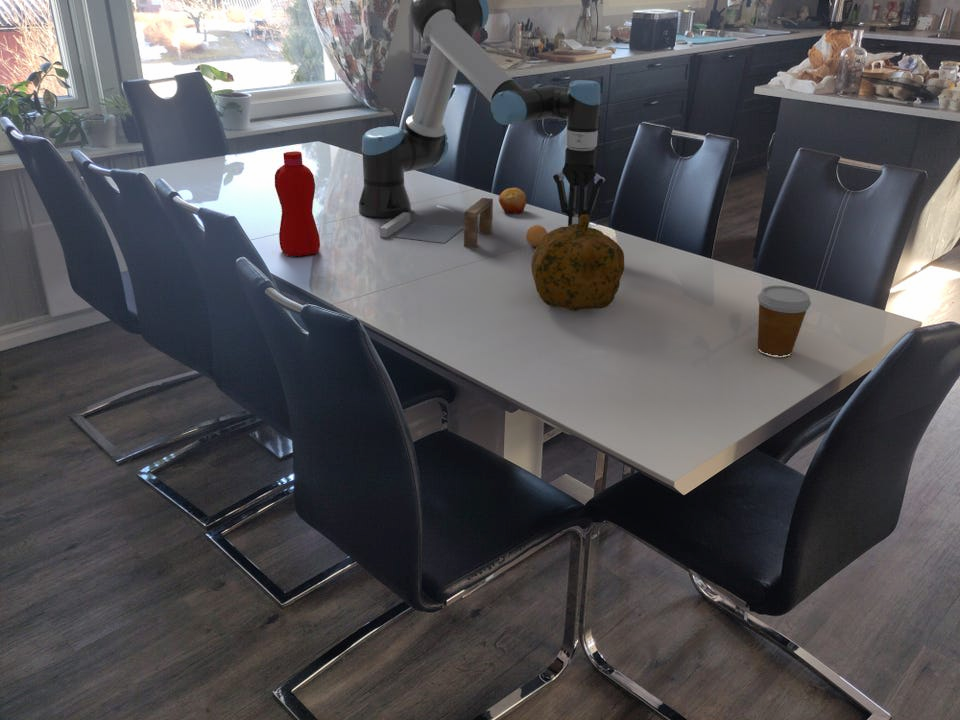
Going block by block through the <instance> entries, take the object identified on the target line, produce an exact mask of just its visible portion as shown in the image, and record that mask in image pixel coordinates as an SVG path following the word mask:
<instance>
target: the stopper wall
mask: <svg viewBox="0 0 960 720" xmlns="http://www.w3.org/2000/svg"><path fill="white" fill-rule="evenodd" d="M410 222H411V212H410V213H406V212H403V213H402V214H400V215H399V216H397V217H393V219H391V220H390V221H388V222H387V223H385V224H383V225H382V226H380V227H379V237H380V236H381V237H380V238H385V237H387V238H388V236H389V237H390V236H392V235H393V234H394V232H395V231H396V232H397V231H399V230H400V229H402V228H403V227H405V226H406V225H407V224H409V223H410ZM398 229H399V230H398ZM396 232H395V233H396ZM391 234H392V235H391Z"/></svg>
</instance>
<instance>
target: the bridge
mask: <svg viewBox="0 0 960 720" xmlns="http://www.w3.org/2000/svg"><path fill="white" fill-rule="evenodd" d="M493 207H494V199H493V198H488V197H481V198H480V199H479V200H477V201H476V202H475V203H473V205H471V206H470V207H468V208H467V209H466V210H464V212H463V214H464V217H463V218H464V219H463V223H464V224H463V247H468V248H476V247H477V246H478V243H479V242H478V236H479V235H478V233H479V234H487V235H490V234H492V233H493V213H494V212H493V211H494V208H493ZM478 222H479V223H478ZM478 227H479V229H478Z"/></svg>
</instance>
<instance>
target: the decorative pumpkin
mask: <svg viewBox="0 0 960 720" xmlns="http://www.w3.org/2000/svg"><path fill="white" fill-rule="evenodd" d="M590 221H591V216H590V215H581V216H580V218H579V223H578V224H572V225H569V226H568V225H567V226H560V227H558V228H554V229H553V230H551V231H549V232H547V234H546V235H545V236H544V237H543V239H542V240H541V242H540V243H539V245H538V246H536V248H535V250H534V252H533V255H532V257H531V265H530V267H531V274H532V278H533V282H534V286H535V288H536V292H537V294H538V295H539V297H540V298H541V300H542V301H543V302H544V304H546V306H550V307H553V308H563V309H568V310H570V311H572V312H578V311H583V310H584V311H585V310H593V309H594V310H595V309H603V308H606V307H608V306H610V304H611V303H612V302H613V301H614V299H615V296H616V294H617V293H618V292H619V289H620V282H621V278H622V276H623V273H624V272H625V254H624V250H623V249H622V247H621V246H620V245H619V244H618V243H617V242H616V241H615V240H614V239H612V238H611V237H610V236H608V235H607V234H604V233H603V232H602V231H601V230H599V229H597V228H595V227H594V228H593V227H589V225H590Z"/></svg>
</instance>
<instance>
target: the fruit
mask: <svg viewBox="0 0 960 720" xmlns="http://www.w3.org/2000/svg"><path fill="white" fill-rule="evenodd" d="M498 202H499V205H500V206H501V209H502V210H503V212H504V213H505V214H521V213H522V212H524V210H525V208H526V206H527V195H526V193H525V192H524V191H523V190H521V189H520V188H518V187H511V188H510V187H509V188H506V189H504V190H503V191H502V192H501V193H500V194H499V197H498Z"/></svg>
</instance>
